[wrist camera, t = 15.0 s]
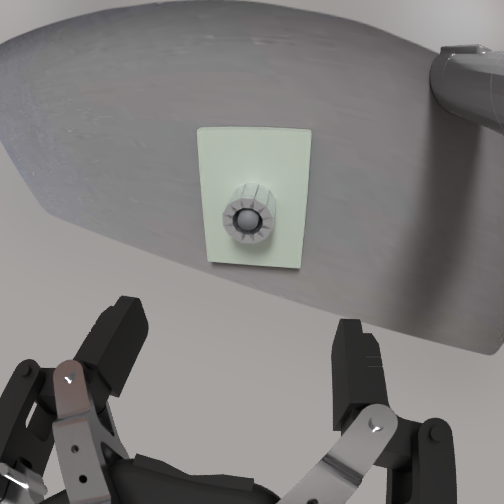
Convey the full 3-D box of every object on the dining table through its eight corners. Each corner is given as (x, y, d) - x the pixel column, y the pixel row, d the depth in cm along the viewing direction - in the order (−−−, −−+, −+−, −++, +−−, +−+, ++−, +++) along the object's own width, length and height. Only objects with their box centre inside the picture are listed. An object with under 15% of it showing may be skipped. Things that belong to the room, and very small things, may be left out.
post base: (201, 127, 36) (183, 138, 30) (310, 129, 35) (313, 141, 29) (211, 254, 47) (199, 282, 42) (300, 260, 46) (299, 290, 40)
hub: (229, 182, 38) (221, 197, 34) (276, 184, 37) (273, 199, 33) (231, 222, 41) (223, 241, 37) (275, 225, 41) (272, 245, 37)
